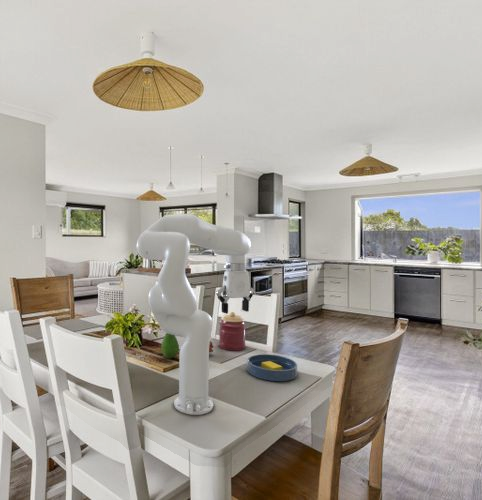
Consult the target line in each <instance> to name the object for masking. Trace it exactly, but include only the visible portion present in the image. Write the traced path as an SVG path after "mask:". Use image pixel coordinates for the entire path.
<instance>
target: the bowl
mask: <svg viewBox="0 0 482 500" xmlns="http://www.w3.org/2000/svg"><path fill="white" fill-rule="evenodd" d="M267 361H271V362H273V363H275V364H278V365H280V366H282V370H269V369H264V368H261V364H262V362H267ZM246 370H247V372H248V373H249V374H250V375H252V376H253V377H256V378H258V379H260V380H264V381H269V382H287V381H293V380H294V379H296V378H297V377H298V363H297V362H296V361H294V360H293V359H291V358H288V357H286V356H283V355H277V354H269V353H267V354H266V353H259V354H253V355H251V356H249V357H247V359H246Z"/></svg>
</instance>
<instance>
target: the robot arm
mask: <svg viewBox="0 0 482 500" xmlns="http://www.w3.org/2000/svg"><path fill="white" fill-rule="evenodd" d="M191 244H192V245H195V246H197V247H200V248H202V249H208V250H211V251H212V252H213V253H214V254H215V255H218V256H225V264H224V265H223V268H224V269H225V270H224V273H223V279H222V287H220V288H219V289H217V290H216V291H215V294H216V296H217V299H218V300H219V301H220V303H221V313H223V314H225V315H228V314H229V303H228V301H229V300H230V299H240V298H241V299H242V301H241V310H242V311H243V312H249V311H250V310H249V308H250V301H251V299H252V297H253V296H254V292H255V289H254V288H253V287H251V285H250V283H251V282H250V276H249V271H248V270H247V255H248V253H250V250H251V248H252V247H251V244H252V243H251V239H250V238H249V237H248V235H246V234H245V233H243V232H242V231H240V230H237V229H233V228H229V227H225V226H221V225H217V224H213V223H211V222H209V221H207V220H205V219H203V218H201V217H199V216H197V215H196V214H192V213H175V214H173V213H172V214H166V215H164V216H162V217H160V218H159V219H158V220H156V221H155V222H154V223H152V224H151V225H150V226H149V227H148V228H146V229H145V230H144V231H143V232H142V233H141V234H140V235H139V236H138V239H137V241H136V251H137V253H138V255H139V256H140V258H142V259H144V260H148V261H149V260H151V261H163V265H162V267H161V269H160V271H159V273H158V275H157V284H155V285H153V286H152V287H151V288H150V289H149V292H148V296H147V303H148V307H149V310H150V312H151V314H152V315H153V317H154V318H155V320H156V321H157V323H158V325H159V326H160V328H161V330H162V331H163V332H164V333H165V334H166V333H168V334H171V335H175V337H180V338H183V339H185V341H184V343H183V344H182V345H181V347H180V348H179V352H178V353H179V355H178V357H179V358H178V359H179V362H178V364H179V365H178V374H179V375H178V396H177V397H176V398H175V399H174V402H173V406H174V408H175V409H176V410H177V411H178V412H179V413H182V414H185V415H191V416H199V415H200V416H201V415H204V414H208V413H210V412H211V411H213V409H214V402H213V400H212V399H210V398H209V383H210V382H209V381H210V380H209V379H210V377H209V376H210V375H209V374H210V373H209V372H210V370H209V369H210V366H209V365H210V352H209V343H210V341H211V337H212V336H211V335H212V330H213V326H214V325H213V317H211V315H210V314H209V313H208V312H207V311H205V310H201V309H198V299H197V297H196V293H194V290H193V288H192V286H191V284H190V282H189V280H188V277H187V275H186V267H187V264H188V260H189V256H190V251H191Z"/></svg>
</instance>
